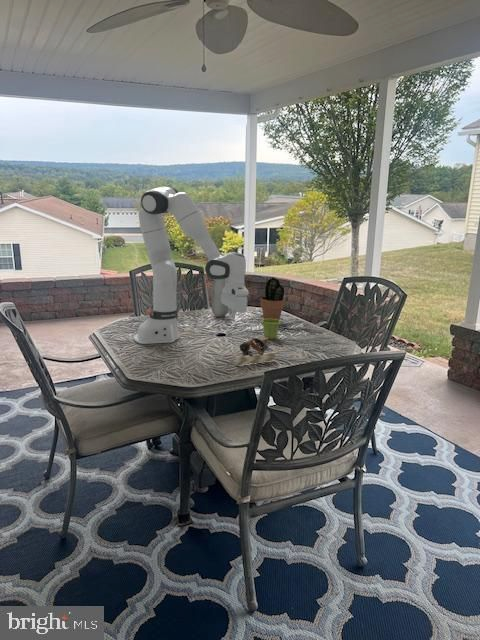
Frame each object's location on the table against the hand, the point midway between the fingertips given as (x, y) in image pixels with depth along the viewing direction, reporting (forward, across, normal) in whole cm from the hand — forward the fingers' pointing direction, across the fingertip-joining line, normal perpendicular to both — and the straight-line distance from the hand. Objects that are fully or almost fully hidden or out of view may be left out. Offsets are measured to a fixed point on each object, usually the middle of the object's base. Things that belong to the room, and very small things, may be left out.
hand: (231, 317), depth 210 cm
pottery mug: (+14, +14, +4) cm, 20 cm away
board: (+14, +25, 0) cm, 29 cm away
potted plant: (+13, -34, +43) cm, 56 cm away
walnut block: (+13, +5, +14) cm, 20 cm away
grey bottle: (+14, -53, +19) cm, 58 cm away
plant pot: (+13, -6, +26) cm, 29 cm away
